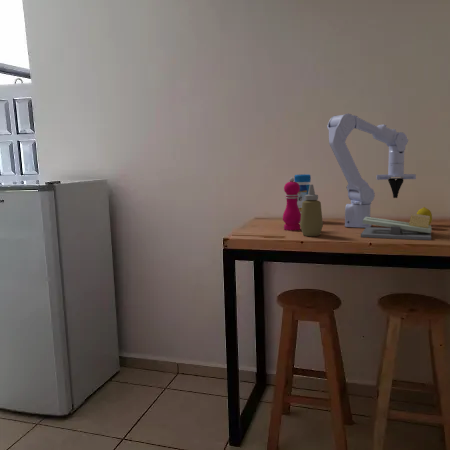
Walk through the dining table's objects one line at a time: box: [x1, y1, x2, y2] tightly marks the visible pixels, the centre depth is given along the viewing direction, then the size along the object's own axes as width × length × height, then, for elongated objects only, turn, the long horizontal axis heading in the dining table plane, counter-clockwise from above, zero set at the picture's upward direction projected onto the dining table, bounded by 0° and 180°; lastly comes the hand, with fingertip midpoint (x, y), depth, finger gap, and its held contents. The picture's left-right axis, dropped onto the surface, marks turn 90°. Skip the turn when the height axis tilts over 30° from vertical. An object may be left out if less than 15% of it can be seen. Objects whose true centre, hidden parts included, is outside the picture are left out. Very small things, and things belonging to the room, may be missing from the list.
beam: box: [363, 216, 432, 234], centre depth 159 cm, size 22×9×2 cm, turn 67°
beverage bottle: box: [293, 173, 312, 224], centre depth 195 cm, size 8×8×20 cm
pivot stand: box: [360, 226, 432, 241], centre depth 160 cm, size 22×16×4 cm
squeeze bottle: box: [299, 184, 324, 237], centre depth 162 cm, size 8×8×18 cm
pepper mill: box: [282, 177, 301, 231], centre depth 176 cm, size 7×7×20 cm
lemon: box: [416, 206, 433, 226], centre depth 170 cm, size 6×6×8 cm
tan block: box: [408, 213, 430, 228], centre depth 157 cm, size 6×5×4 cm
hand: (395, 197), depth 183 cm, fingers closed
